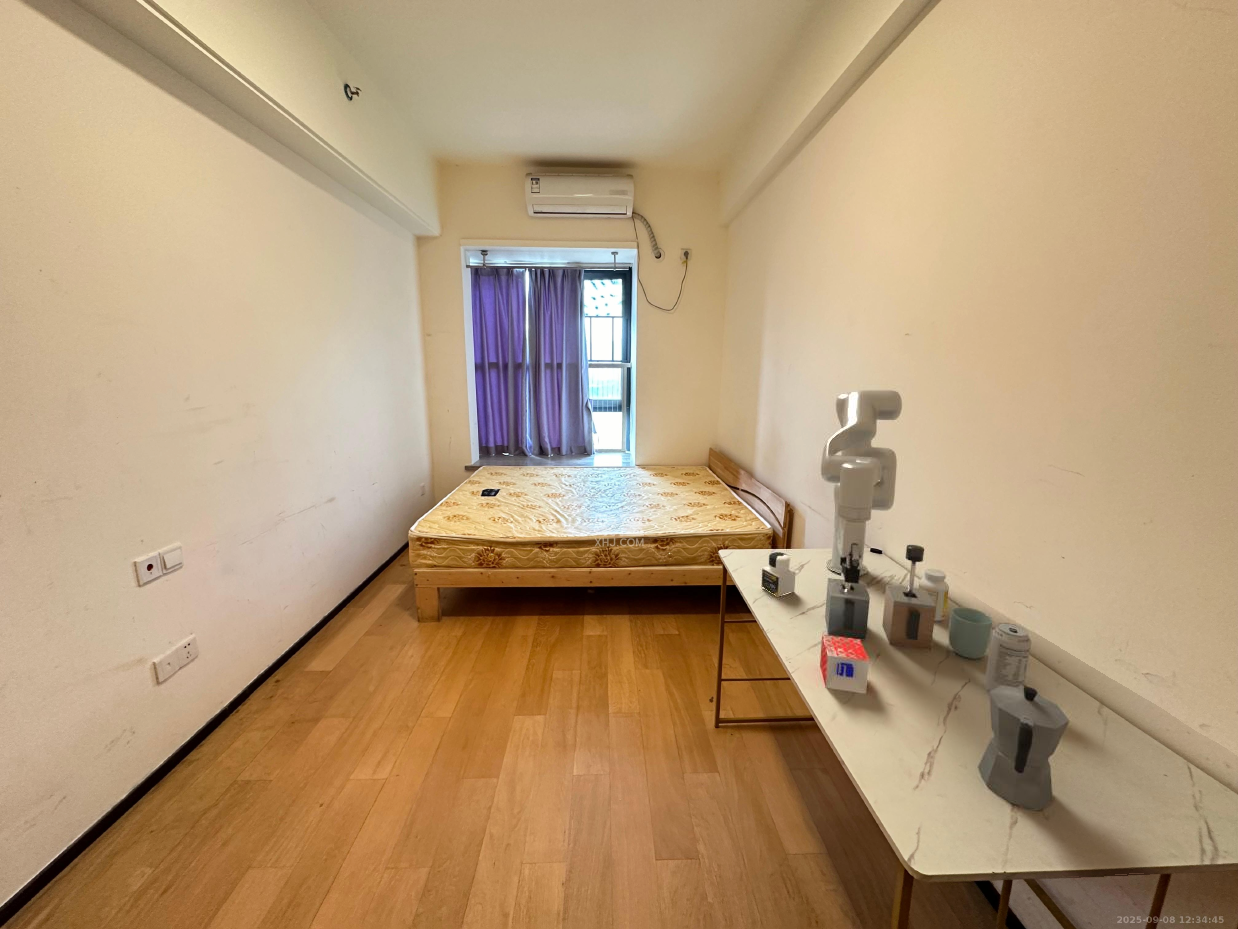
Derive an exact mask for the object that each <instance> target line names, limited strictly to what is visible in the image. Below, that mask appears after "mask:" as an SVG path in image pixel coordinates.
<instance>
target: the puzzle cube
mask: <svg viewBox="0 0 1238 929" xmlns="http://www.w3.org/2000/svg"><path fill="white" fill-rule="evenodd" d="M820 646H821V647H820V658H819V660H820V661H819V667H820V671H821V675H822V678H823V683H824V686H825V688H826V689H827V688H828V689H834V690H840V691H846V692H847V691H848V692H853V693H860V694H865V695H866V694H867V686H868V675H869V674H868V673H869V668H870V667H869V664H870V661H869V660H870V659H869V657H868V656H867V652H866V650H865V647H864V645H863V643H862V641H861V640H860V639H854V638H847V637H841V636H834V635H828V634H827V635H826V634H822V635H821V645H820Z"/></svg>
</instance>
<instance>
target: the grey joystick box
mask: <svg viewBox="0 0 1238 929" xmlns="http://www.w3.org/2000/svg"><path fill="white" fill-rule="evenodd" d="M825 600H826V601H825V613H824V614H825V615H824V618H825V625H826V631H827V636H835V637H844V638H852V639H860V641H861V640H862V641H866V640H867V634H868V632H867V631H868V622H869V620H868V619H869V611H870V603H871V602H870V600H871V598H870V594H869V592H868V589H867V587H866V584H865V581H859V583H858V584H855V583H850V590H847V589H846V582H845V580H844V579H842V578H841V579H840V578H831V577H828V578H827V585H826V598H825Z"/></svg>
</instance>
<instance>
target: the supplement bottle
mask: <svg viewBox="0 0 1238 929" xmlns="http://www.w3.org/2000/svg"><path fill="white" fill-rule="evenodd" d="M946 577H947V574H946V572H944V571H942V570H939V569H935V568H928V569H925V570H924V577H922V578H921V579H920V580H919V584H918V589H926V591H927V592H928V594H929V596H930V597H931V599H932V600H933V602H934V603H935V605H936V612H935V620H934V622H939V621H944V620H945V619H946V613H947V606H948V597H949V591H950V586H949V584H948V583H947V582H946V581H945V580H946Z"/></svg>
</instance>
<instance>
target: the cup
mask: <svg viewBox="0 0 1238 929" xmlns="http://www.w3.org/2000/svg"><path fill="white" fill-rule="evenodd" d="M949 614H950V615H949V620H948V632H947V633H948V634H947V636H948V637H947V638H948V644H949V647H950V648H951V649H952V650H953V651H954V652H955V653H956V654H958V655H959V656H961V657H964V658H967V659H980V658H982V657H984V656H985V654H987V651H988V649H989V648H990V644H991V638H992V631H993V624H994V621H993V619H992V617H990V615H989V614H987V613H985V612H983V611H981V610H978V609H975V608H971V607H964V606H960V607H959V606H957V607H953V608H951V610H950V613H949Z"/></svg>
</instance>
